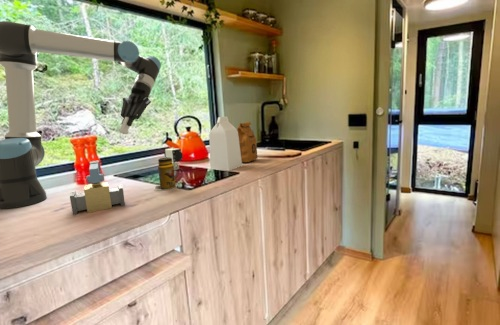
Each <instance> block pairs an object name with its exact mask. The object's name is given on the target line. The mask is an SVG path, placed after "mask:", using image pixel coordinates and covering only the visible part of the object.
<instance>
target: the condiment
mask: <svg viewBox="0 0 500 325" xmlns="http://www.w3.org/2000/svg"><path fill="white" fill-rule="evenodd" d="M172 163H173V162H172V158H166V157H161V158H158V166H157V169H158V172H157V173H158V178H159V179H158V180H159V185H155V188H154V192H156V191H164V190H165V191H167V190H175V189H176V190H177V189H178V188H177V187H178V186H177V184H178V183H176V176H175V170H174V165H173V164H172Z"/></svg>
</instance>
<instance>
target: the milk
mask: <svg viewBox="0 0 500 325" xmlns="http://www.w3.org/2000/svg"><path fill="white" fill-rule="evenodd" d="M229 121H230V120H229V117H228V116H219V117H217V121H216V124H215V125H214V126H213V127H212V129H211V130H210V132H209V134H208V136H209V158H210V159H209V162H210V166H209V168H210V170H213V169H216V171H226V170H228V172H229V171H232V170H234V169H237V167H238V168H241V167H243V163H242V161H241V153H240V144H239V136H238V131H237V129H238V128H237V127H235V126H234V125H233V124H232V123H231V122H229ZM240 166H241V167H240Z"/></svg>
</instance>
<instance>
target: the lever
mask: <svg viewBox="0 0 500 325" xmlns="http://www.w3.org/2000/svg"><path fill="white" fill-rule="evenodd" d="M100 166H101V164H100V160H92V161H89V175H87V176H86V182H87V184H92V183H99V182H100V183H103V182H105V176H104V173H101V167H100Z"/></svg>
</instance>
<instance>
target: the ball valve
mask: <svg viewBox="0 0 500 325" xmlns="http://www.w3.org/2000/svg"><path fill="white" fill-rule="evenodd" d="M83 191H84V192H81V193H77V192H76V190H75V191H71V192H70V195H69V199H70V206H71V210H72V215H73V216H74V215H78V213H79V211H85V210H86V211H87V213H93V212H99V211H104V210H108V209H110V210H111V209H113V208H112V207H113V206H112V205H118V204H120V205H121V207H124V206H126V201H125V195H124V188H123V184H117V187H114V188H110V186H109V182H108V181H102V182H99V183H89V184H85V185H84V188H83Z"/></svg>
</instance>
